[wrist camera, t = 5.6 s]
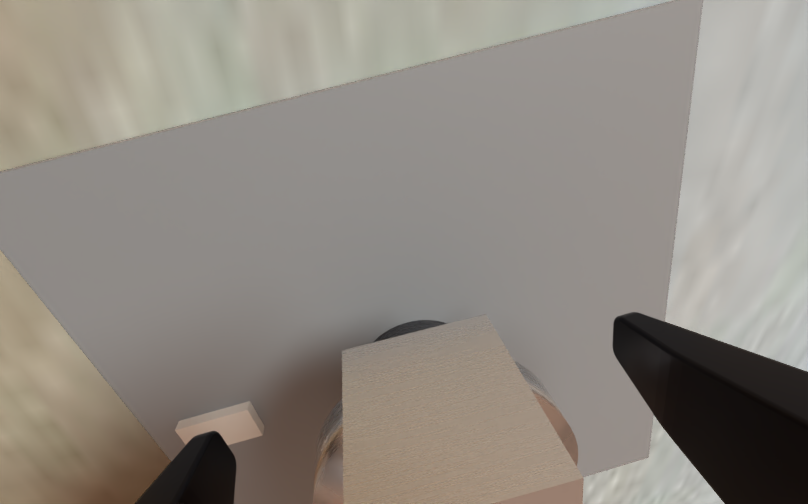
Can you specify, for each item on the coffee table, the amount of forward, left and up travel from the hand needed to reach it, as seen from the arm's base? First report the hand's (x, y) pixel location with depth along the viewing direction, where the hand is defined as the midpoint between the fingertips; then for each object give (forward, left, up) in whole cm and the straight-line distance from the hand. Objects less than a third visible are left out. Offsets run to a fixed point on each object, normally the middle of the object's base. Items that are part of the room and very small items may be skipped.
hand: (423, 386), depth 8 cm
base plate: (0, -5, -6) cm, 8 cm away
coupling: (0, -4, -2) cm, 4 cm away
